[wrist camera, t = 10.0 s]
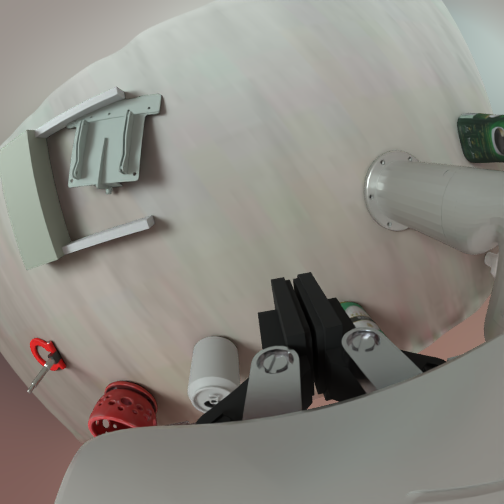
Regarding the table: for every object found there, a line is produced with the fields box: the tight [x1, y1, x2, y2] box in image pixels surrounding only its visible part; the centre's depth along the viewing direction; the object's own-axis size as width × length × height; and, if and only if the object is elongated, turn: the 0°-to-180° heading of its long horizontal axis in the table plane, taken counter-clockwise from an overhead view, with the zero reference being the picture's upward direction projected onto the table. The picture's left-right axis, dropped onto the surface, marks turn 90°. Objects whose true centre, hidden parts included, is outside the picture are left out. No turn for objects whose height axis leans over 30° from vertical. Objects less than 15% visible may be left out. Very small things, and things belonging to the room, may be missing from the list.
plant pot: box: [88, 381, 157, 437], centre depth 41 cm, size 13×13×12 cm
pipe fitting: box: [484, 252, 499, 279], centre depth 40 cm, size 6×7×8 cm
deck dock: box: [0, 87, 155, 270], centre depth 30 cm, size 23×20×5 cm
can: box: [188, 336, 240, 413], centre depth 38 cm, size 8×8×12 cm
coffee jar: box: [457, 113, 504, 163], centre depth 26 cm, size 10×8×19 cm
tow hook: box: [28, 338, 66, 394], centre depth 36 cm, size 8×13×9 cm
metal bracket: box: [67, 94, 162, 194], centre depth 31 cm, size 14×6×15 cm
